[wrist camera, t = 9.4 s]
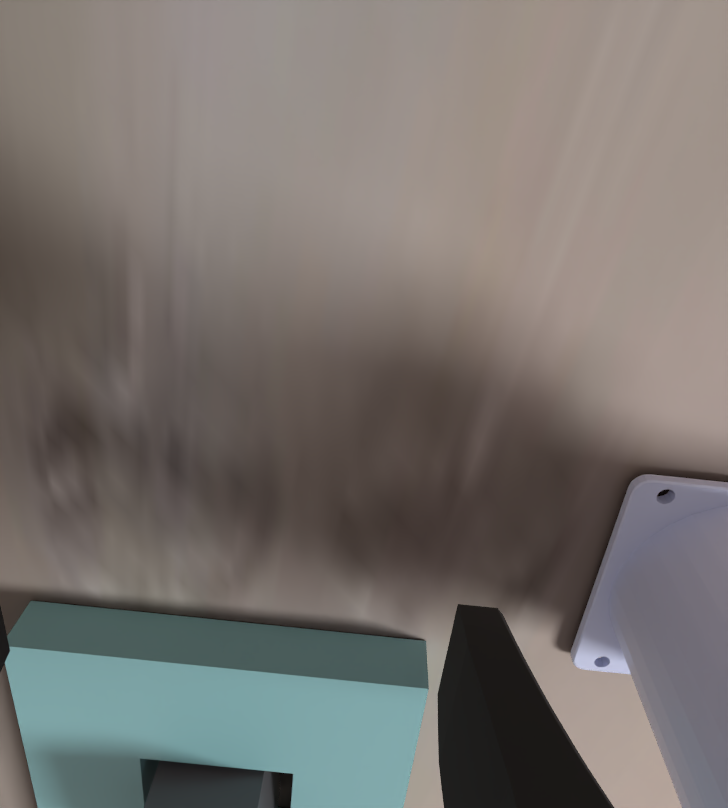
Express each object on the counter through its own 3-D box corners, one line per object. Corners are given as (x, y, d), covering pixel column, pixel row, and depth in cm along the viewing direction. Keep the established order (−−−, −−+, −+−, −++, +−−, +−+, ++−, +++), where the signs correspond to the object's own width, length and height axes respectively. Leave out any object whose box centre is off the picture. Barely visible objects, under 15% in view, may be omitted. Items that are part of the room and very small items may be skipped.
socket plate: (426, 640, 23) (428, 688, 22) (377, 883, 31) (376, 933, 29) (30, 600, 23) (0, 645, 21) (78, 853, 31) (59, 902, 29)
